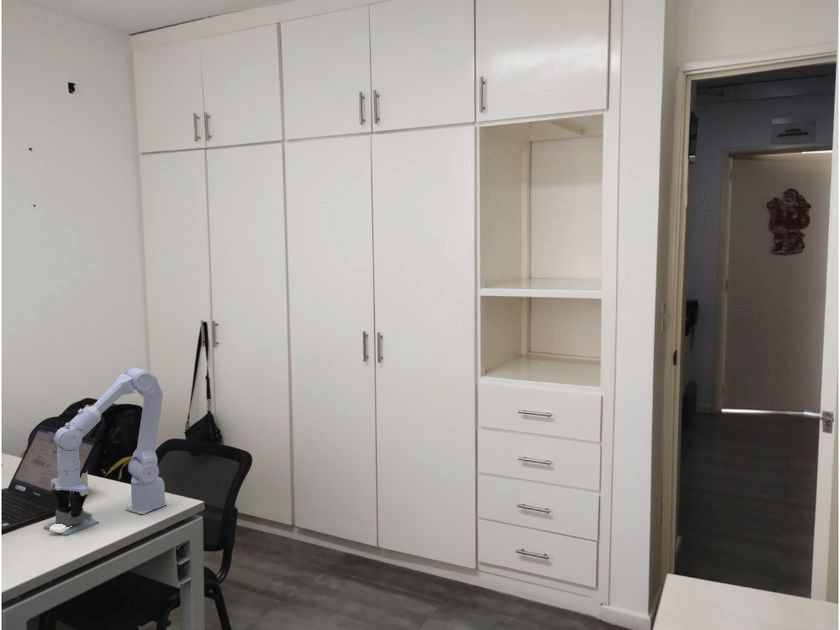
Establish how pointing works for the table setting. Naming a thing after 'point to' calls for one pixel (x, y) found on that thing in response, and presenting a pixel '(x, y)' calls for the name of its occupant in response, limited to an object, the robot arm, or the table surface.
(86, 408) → the robot arm
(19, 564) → the table surface
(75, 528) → the keeper
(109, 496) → the table surface
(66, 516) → the grey open box
